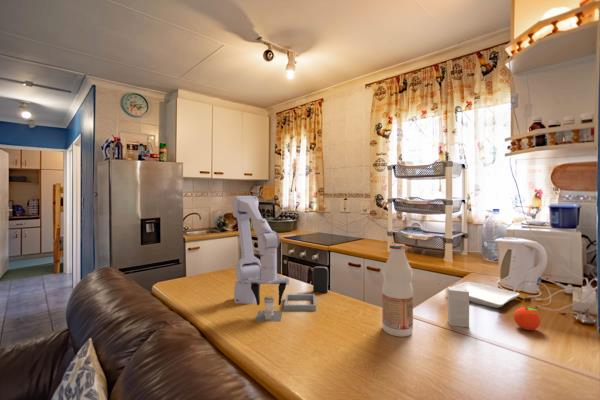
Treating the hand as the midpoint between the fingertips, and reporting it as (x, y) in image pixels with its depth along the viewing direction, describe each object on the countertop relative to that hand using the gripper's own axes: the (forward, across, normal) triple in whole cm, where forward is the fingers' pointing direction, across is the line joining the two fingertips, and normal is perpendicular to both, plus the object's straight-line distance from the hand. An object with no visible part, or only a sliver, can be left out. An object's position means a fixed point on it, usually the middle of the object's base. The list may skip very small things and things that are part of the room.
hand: (269, 304), depth 105 cm
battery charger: (+5, +20, +29) cm, 36 cm away
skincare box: (+6, +65, -4) cm, 65 cm away
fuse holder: (+5, 0, 0) cm, 5 cm away
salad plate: (+6, +88, +21) cm, 91 cm away
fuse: (+4, 0, 0) cm, 4 cm away
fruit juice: (+6, +43, -9) cm, 44 cm away
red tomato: (+6, +86, -8) cm, 86 cm away
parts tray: (+5, +11, +11) cm, 16 cm away
